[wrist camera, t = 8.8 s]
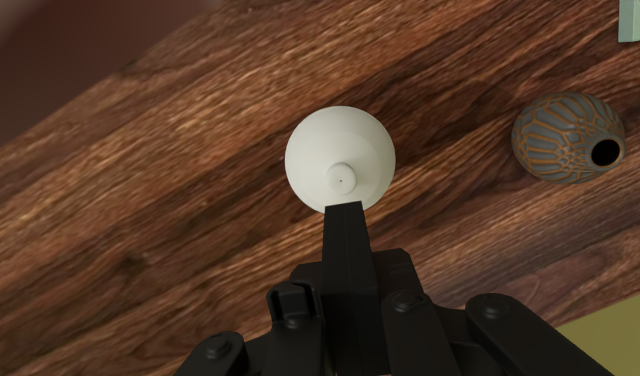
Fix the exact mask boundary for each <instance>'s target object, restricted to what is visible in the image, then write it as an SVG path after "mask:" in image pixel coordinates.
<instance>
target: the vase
mask: <svg viewBox="0 0 640 376" xmlns="http://www.w3.org/2000/svg"><path fill="white" fill-rule="evenodd" d="M624 142H625V132H624V127H623V124H622V121H621V119H620V118H619V116H618V115H617V113H616V112H615V111H614V110H613V109H612V108H611V107H610V106H609V105H608V104H607V103H605V102H604V101H602V100H600V99H599V98H597V97H594V96H592V95H589V94H585V93H580V92H556V93H552V94H548V95H545V96H542V97H540V98H538V99H536V100H535V101H533V102H531V103H530V104H529V105H528V106H526V107H525V108H524V109H523V111H522V112H521V113H520V114H519V116H518V117H517V119H516V121H515V123H514V125H513V129H512V135H511V143H512V148H513V151H514V154H515V156H516V158H517V159H518V161H519V162H520V164H521V165H522V166H523V167H524V168H525V169H526V170H527V171H529V172H530V173H531V174H533V175H534V176H536V177H538V178H540V179H542V180H544V181H547V182H551V183H556V184H569V185H570V184H580V183H585V182H588V181H591V180H594V179H596V178H598V177H600V176H601V175H603V174H604V173H606V172H607V171H608V170H610V169H613V168H614V167H616V166H617V165H618V164H619V163H620V162H621V161H622V159H623V158H624V155H625V151H626V148H625V144H624Z"/></svg>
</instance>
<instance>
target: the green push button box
mask: <svg viewBox="0 0 640 376" xmlns="http://www.w3.org/2000/svg"><path fill="white" fill-rule="evenodd" d="M639 40H640V0H620V4H619V34H618V42H634V41H639Z"/></svg>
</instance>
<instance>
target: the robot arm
mask: <svg viewBox="0 0 640 376" xmlns="http://www.w3.org/2000/svg"><path fill="white" fill-rule="evenodd" d="M266 298H267V302H268V306H269V310H270V314H271V318H272V322H273V324H272V328H271V331H270V332H268V333H267V334H265V335H262V336H260V337H258V338H255V339H252V340H249V341H247V342H244V339H243V336H242V335H240V334H239V333H238V332H233V331H226V332H220V333H217V334H213V335H211V336H209V337H208V338H206V339H204V340H203V341H202V342H200V343H199V344H198V345H197V346H196V347H195V349H194V350H193V351H192V352H191V354H190V355H189V356H188V357H187V359H186V360H185V361H184V363H183V364H182V365H181V366H180V368H179V369H178V370H177V371H176V373H175V374H174V375H173V376H336V374H337V376H380V375H388V374H391V376H614V375H613V374H612V373H610V372H609V371H608V370H607V369H605V368H604V367H603V366H601V365H600V364H599V363H598V362H596V361H595V360H594V359H592V358H591V357H590V356H589V355H587V354H586V353H585V352H584V351H582V350H581V349H580V348H578V347H577V346H576V345H575V344H573V343H572V342H571V341H569V340H568V339H567V338H566V337H564V336H563V335H562V334H561V333H559V332H558V331H557V330H555V329H554V328H553V327H552V326H550V325H549V324H548V323H546V322H545V321H544V320H543V319H541V318H540V317H539V316H538V315H536V314H535V313H534V312H532V311H531V310H530V309H529V308H527V307H526V306H525V305H523V304H522V303H521V302H520V301H518V300H516V299H514V298H512V297H511V296H507V295H503V294H497V293H487V294H480V295H477V296H475V297H473V298H471V299H470V300H469V301H468V302H467V303H466V306H465V310H460V309H449V308H444V307H440V306H437V305H435V304H434V303H433V302H432V300H431V299H430V297H429V296H428V295H427V294H425V293H424V291H423V289H422V286H421V283H420V281H419V278H418V276H417V273H416V271H415V268H414V265H413V263H412V260H411V257H410V255H409V254H408V253H407V252H405V251H404V250H403V249H401V248H397V249H391V250H384V251H377V252H371V247H370V242H369V237H368V231H367V226H366V221H365V216H364V211H363V206H362V201H361V200H360V201H354V202H348V203H342V204H336V205H330V206H325V214H324V232H323V249H322V261H319V262H312V263H306V264H299V265H297V267H296V268H295V269H294V270H293V271H292V272H291V274H290V279H289V280H287V281H284V282H282V283H279V284H277V285H275V286H274V287H273V288H272V289H270V290H269V292H268V293H267V295H266Z"/></svg>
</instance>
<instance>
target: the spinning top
mask: <svg viewBox="0 0 640 376" xmlns="http://www.w3.org/2000/svg"><path fill="white" fill-rule="evenodd" d="M285 168H286V173H287V177H288V180H289V183H290V185H291V187H292V189H293V190H294V192H295V193H296V194H297V196H298V197H299V198H300V199H301V200H302V201H303V202H304V203H305V204H307V205H308V206H309V207H311V208H313V209H315V210H317V211H319V212H322V213H325V206H330V205H336V204H342V203H348V202H354V201H360V200H361V201H362V206H363V210H365V209H367V208H369V207H371V206H372V205H373V204H375V203H376V202H377V201H378V200H379V199H380V198H381V197H382V196H383V195H384V193H385V192H386V190H387V189H388V187H389V185H390V183H391V181H392V178H393V175H394V170H395V150H394V146H393V143H392V140H391V138H390V136H389V134H388V132H387V131H386V129H385V128H384V126H383V125H382V124H381V123H380V122H379V121H378V120H377V119H376V118H374V117H373V116H372V115H370V114H368V113H366V112H364V111H362V110H360V109H357V108H353V107H347V106H334V107H328V108H324V109H321V110H319V111H317V112H314V113H313V114H311V115H309V116H308V117H307V118H305V119H304V120H303V121H302V122H301V123H300V124H299V125H298V126H297V127H296V129H295V130H294V132H293V133H292V135H291V137H290V139H289V142H288V144H287V148H286V154H285Z"/></svg>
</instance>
